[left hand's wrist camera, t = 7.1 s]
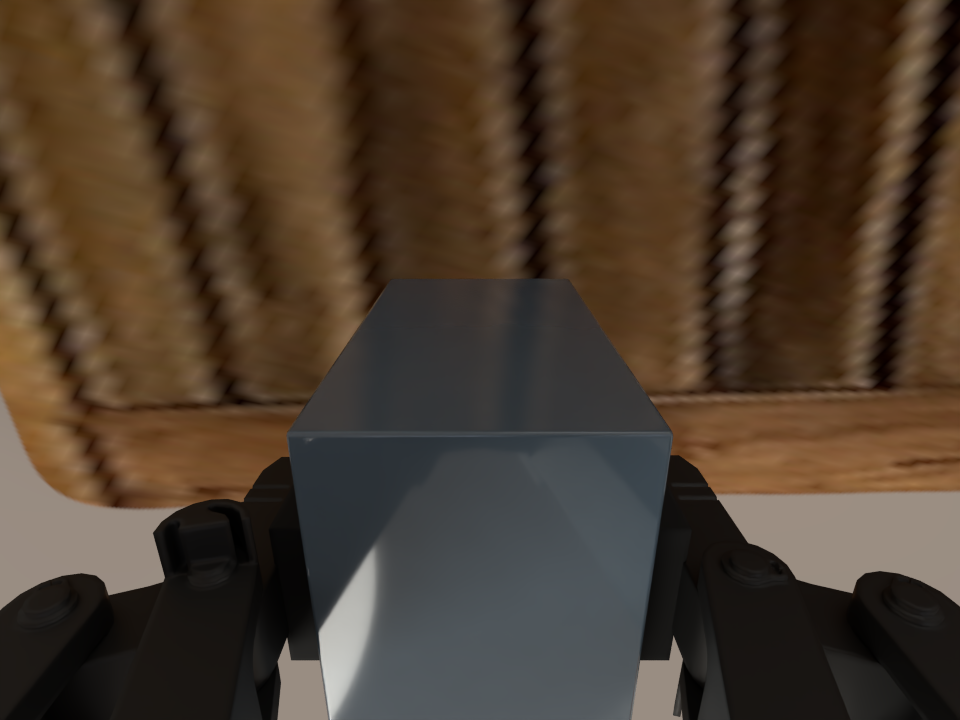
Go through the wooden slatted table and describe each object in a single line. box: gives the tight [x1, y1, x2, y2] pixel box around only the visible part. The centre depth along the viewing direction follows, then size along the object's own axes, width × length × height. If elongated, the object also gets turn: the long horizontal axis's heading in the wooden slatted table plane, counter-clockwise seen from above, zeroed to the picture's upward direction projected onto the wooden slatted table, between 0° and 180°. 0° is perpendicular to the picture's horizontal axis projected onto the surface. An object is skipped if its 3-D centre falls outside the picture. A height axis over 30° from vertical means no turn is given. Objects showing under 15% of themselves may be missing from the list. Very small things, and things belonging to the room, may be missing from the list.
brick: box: [286, 279, 673, 720], centre depth 12 cm, size 5×7×9 cm
